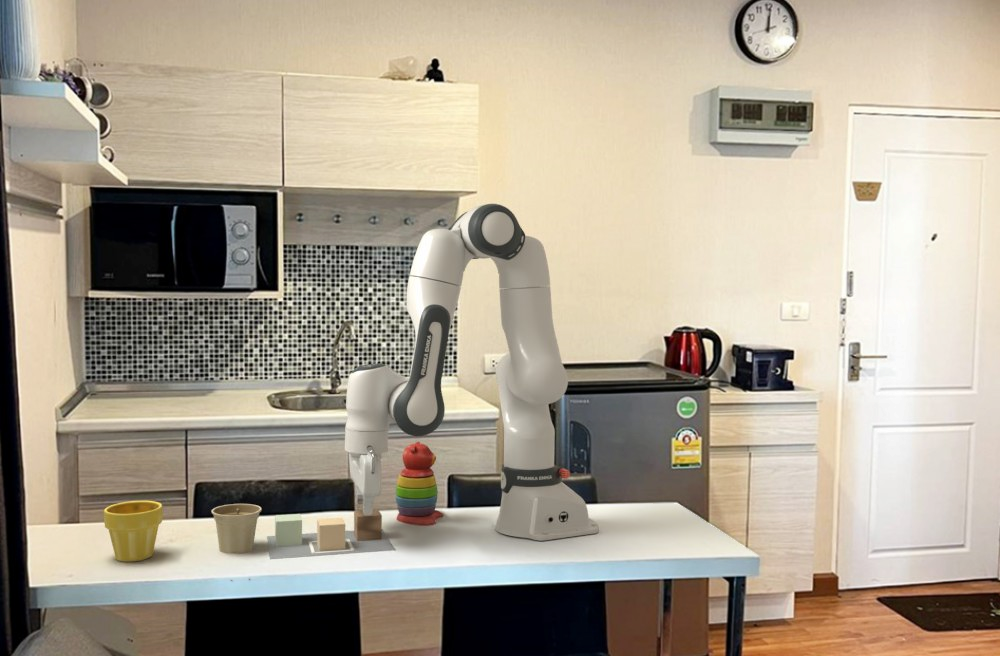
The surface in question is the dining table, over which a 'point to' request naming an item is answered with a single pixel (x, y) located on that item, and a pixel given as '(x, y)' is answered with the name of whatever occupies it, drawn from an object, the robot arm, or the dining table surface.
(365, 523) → the walnut block
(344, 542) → the building board
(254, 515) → the flower pot
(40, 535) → the dining table surface
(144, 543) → the plant pot
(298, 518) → the sage block
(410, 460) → the stacking bear
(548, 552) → the dining table surface
